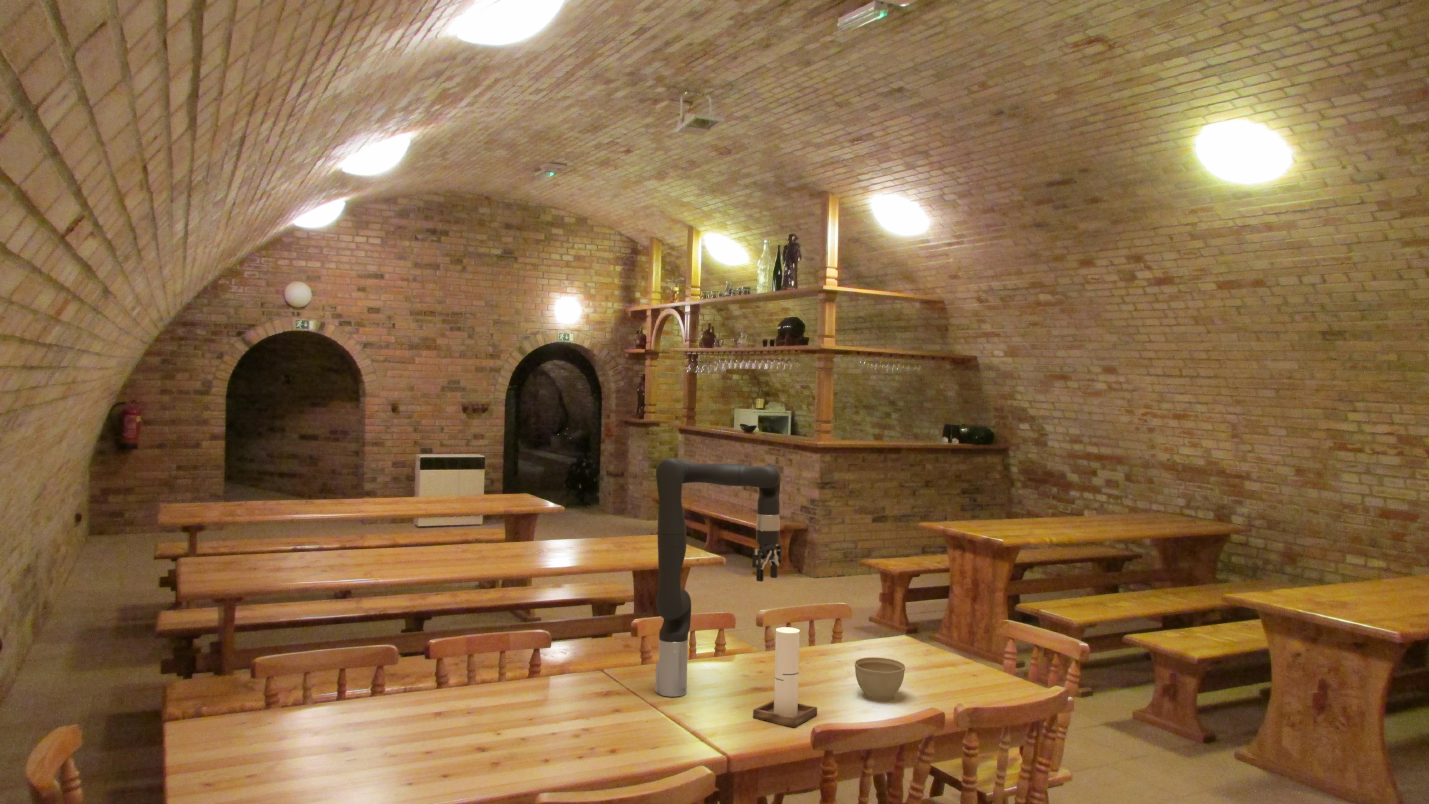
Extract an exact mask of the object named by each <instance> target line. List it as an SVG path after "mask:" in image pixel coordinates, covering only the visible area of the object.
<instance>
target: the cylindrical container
mask: <svg viewBox="0 0 1429 804" xmlns="http://www.w3.org/2000/svg"><path fill="white" fill-rule="evenodd" d="M800 634H801V633H800V629H798V628H795V627H790V626H789V627H787V626H786V627H785V626H782V627H777V628H776V629H775V646H774V647H775V650H774V653H775V654H774V655H775V656H774V683H773V684H774V689H773V696H774V697H773V700H774V713H776V714H781V715H785V716H790V717H794V716H796V715H797V711H798V703H799V674H800V672H799V669H800V668H799V667H800V666H799V665H800V638H801V637H800Z"/></svg>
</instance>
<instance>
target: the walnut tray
mask: <svg viewBox="0 0 1429 804" xmlns="http://www.w3.org/2000/svg"><path fill="white" fill-rule="evenodd" d="M816 715H817V716H818V707H817V706H813V705H808V704H804V703H799V702H798V711H797V715H796V716H794V717H790V716H785V715H781V714H776V713H774V699H773V700H771V701H769V702H767V703H765V704H763V705H760V706H759V707H756V708H754V709H753V711H752V718H753V719H757V720H759V719H760V720H761V721H764V720H766V721H765V722H768V721H769V723H774V724H778V725H782V726H786V727H791V728H796V727H798V726H799V725H802V724H803V722H804V723H805V721H806V722H807V720H808V721H810V720H811V719H813V718H814V717H813V716H815V717H817V716H816ZM812 717H813V718H812ZM809 719H810V720H809ZM801 723H802V724H801Z"/></svg>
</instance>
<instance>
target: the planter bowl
mask: <svg viewBox="0 0 1429 804" xmlns="http://www.w3.org/2000/svg"><path fill="white" fill-rule="evenodd" d="M854 668H855V669H854V671H855V677H856V680H857V681H856V682H857V683H858V687H859V688H860V690H861V691H862V692H863V697H865V698H866V699H868V700H869V701H870V700H871V701H875V702H890V701H892V700H894V699H895V695H897V693H898V691H899V690H900V688H901V687H902V684H903V681H904V676H905V671H906V665H905V664H904V663H903V662H901V661H898V660H895V659H892V658H886V657H876V656H872V657H862V658H861V657H860V658H858V659H856V660H855V661H854Z"/></svg>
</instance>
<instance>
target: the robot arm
mask: <svg viewBox="0 0 1429 804" xmlns="http://www.w3.org/2000/svg"><path fill="white" fill-rule="evenodd" d="M655 479H656V486H657V494H658V511H657V557H658V558H657V563H658V564H657V565H658V567H657V568H658V580H657V582H658V583H657V593H656V610H657V613H658V614H659V615H660V617H661V618H662V619H663V620H662V621H663V622H662V624H661V628H660V629H659V633H658V638H659V639H658V661H657V662H655V683H654V684H655V686H654V687H655V689H654V690H655V693H657V694H658V695H660V696H662V697H671V698H673V697H675V698H676V697H682V696H685V695H686V694H687V693H688V691H687V688H688V652H689V651H688V647H689V646H688V645H689V644H688V643H689V633H690V629H691V620H692V619H691V617H692V599H691V596H690V594H689V592H688V591H687V590H686V589H684V588H682V586H681V573H682V568H683V564H684V561H685V557H686V552H687V526H686V519H685V515H684V514H685V513H684V510H683V503H682V491H683V484H690V483H691V484H692V483H703V484H711V485H712V484H713V485H718V486H727V487H728V486H730V487H751V488H758V499H757V510H756V511H757V515H756V523H755V525H756V526H755V528H756V529H755V531H756V532H755V535H756V536H755V542H756V544H758V548H752V549H753V550H752V562H751V563H752V565H751V567H752V568H754V569H756V575H755V576H756V577H755V578H756V581H757V582H764V577H765V575H764V573H765V571H764V570H765V569H764V568H765V566H766V564H768V562H769V563H770V570H769V571H770V572H769V573H770V578H773V579H777V578H778V572H779V571H778V568H779V565H780V564H782V562H783V555H782V554H783V553H782V551H783V545H782V544H780V542H781V541H780V540H781V536H780V534H781V533H780V532H781V521H780V492H781V491H780V489H781V472H780V469H779V468H777V467H776V466H775V465H772V464H771V465H770V464H769V465H768V464H767V465H748V464H742V463H741V464H739V463H702V462H701V463H700V462H693V461H688V460H683V459H679V458H677V457H667V458H664V459H662V460H661V461H659V463H658V464H657V466H656V470H655Z"/></svg>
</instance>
